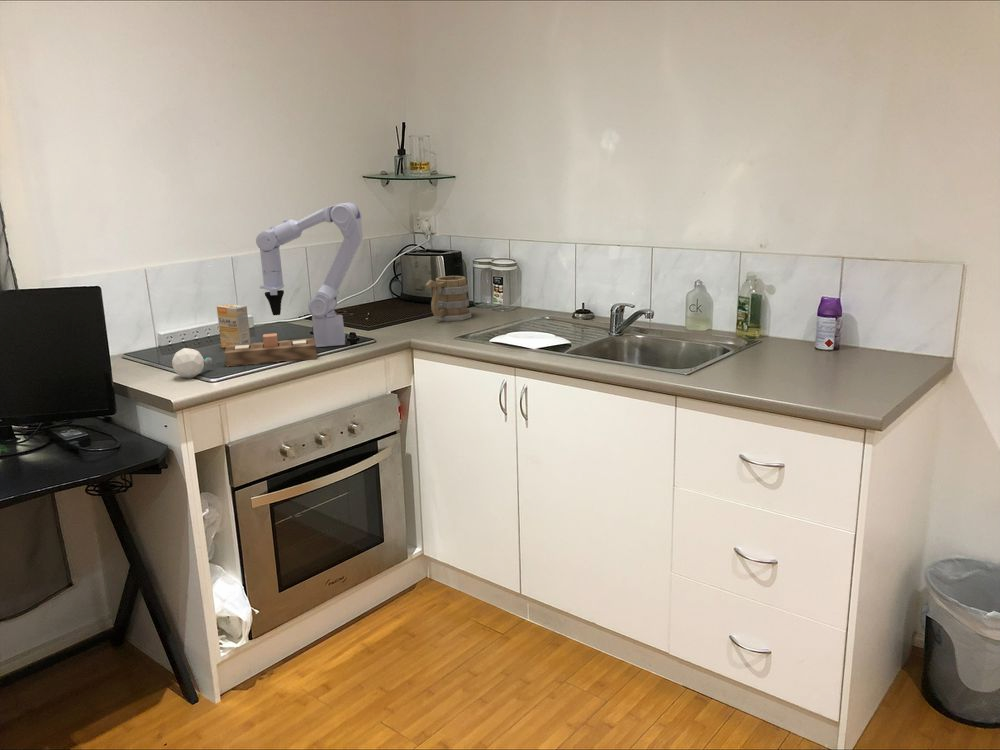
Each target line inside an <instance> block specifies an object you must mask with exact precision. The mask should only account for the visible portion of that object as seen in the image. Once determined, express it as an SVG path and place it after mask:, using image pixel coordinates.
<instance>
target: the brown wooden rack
mask: <svg viewBox="0 0 1000 750" xmlns="http://www.w3.org/2000/svg"><path fill="white" fill-rule="evenodd" d="M299 340H306V344H301V345H293V341H299ZM239 345H249V348H250V349H242V350H235V346H239ZM224 349H225V350H224V360H225V361H224V362H225V367H226V368H229V366H231V367H239V366H238V365H243V366H249V365H248V364H254V365H260V364H259V363H265V364H269V363H268V362H277V363H280V362H279V361H286V362H287V361H288V362H297V361H308V360H309V361H310V360H318V353H317V352H318V350H317V347H316V342H315V338H314V337H311V338H299V339H297V338H296V339H287V340H286V339H285V340H284V339H283V340H278V347H266V348H264V342H263V341H260V342H252V343H248V344H236V345H227V346H226V348H224ZM286 362H285V363H286ZM288 362H287V363H288Z"/></svg>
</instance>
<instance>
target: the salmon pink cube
mask: <svg viewBox="0 0 1000 750" xmlns="http://www.w3.org/2000/svg"><path fill="white" fill-rule="evenodd" d="M278 341H279V340H278V333H277V332H276V333H264V334H263V335H262V342H264V348H266V347H278Z"/></svg>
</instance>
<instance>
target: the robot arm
mask: <svg viewBox="0 0 1000 750" xmlns="http://www.w3.org/2000/svg"><path fill="white" fill-rule="evenodd" d="M362 216H363V215H362V213H361V211H360V208H359V207H358V205H356V203H355V202H351V201H344V202H342V203H337V204H334V205H331V206H327V207H324V208H321V209H319V210H317V211H315V212H313V213H311V214H309V215H307V216H306V217H303V218H301V219H299V220H295V219H288V218H285V219H284V220H282V222H283V223H280V224H278V225H275V226H273V225H272V226H270V227H269V230H262V231H261V232H260V233H259V234H257V236H256V239H255V243H256V246H257V247H258V248H259V252H260V264H261V271H262V282H263V285H262V284H261V285H259V288H260V289H264V290H266V291H265V292H264V296H265V298H266V299H267V302H268V303H269V306H270V309H271V313H272V315H273V316H280V315H281V310H282V302H283V301H282V300H283V296H284V294H285V291H284V288H285V285H284V280H283V279H284V278H283V271H282V269H283V268H282V259H281V254H280V253H281V252H280V247H281V246H284V245H285V244H287V243H290V242H292V241H295V240H297V239H298V238H300V237H302V234H303V232H304V231H305V230H307V229H310V228H312V227H314V226H317V225H319V224H321V223H328V224H331V223H334V224H335V226H337V228H338V229H339V230H340V232H341V234H342V236H343V240H342V242H341V244H340V246H339V249H338V251H337V253H336V255H335V257H334V259H333V261H332V264H331V265H330V268H329V270H328V273H327V275H326V277H325V279H324V281H323V283H322V285H321V286H320V287H319V289H318V291H317V292H316V295H315V296H313V297H312V298H311V299H310V300H309V301H308V305H307V307H308V310H309V312H310V314H311V321H312V322H311V323H312V329H313V330H312V333H313V338H315V342H316V348H324V347H336V346H345V345H346V332H345V325H344V318H343V317H344V316H343V315H342V314H337V313H336V311H335V309H336V307H337V304H338V300H337V299H338V297H339V294H340V288H341V286H342V284H343V282H344V279H345V277H346V275H347V273H348V271H349V268H350V267H351V265H352V262H353V260H354V258H355V256H356V254H357V252H358V250H359V247H360V245H361V243H362V241H363V238H364V234H363V228H362V227H363V225H362Z"/></svg>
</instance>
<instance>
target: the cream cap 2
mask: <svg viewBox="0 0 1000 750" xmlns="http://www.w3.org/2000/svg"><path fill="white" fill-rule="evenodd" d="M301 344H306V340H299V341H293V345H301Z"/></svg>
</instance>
